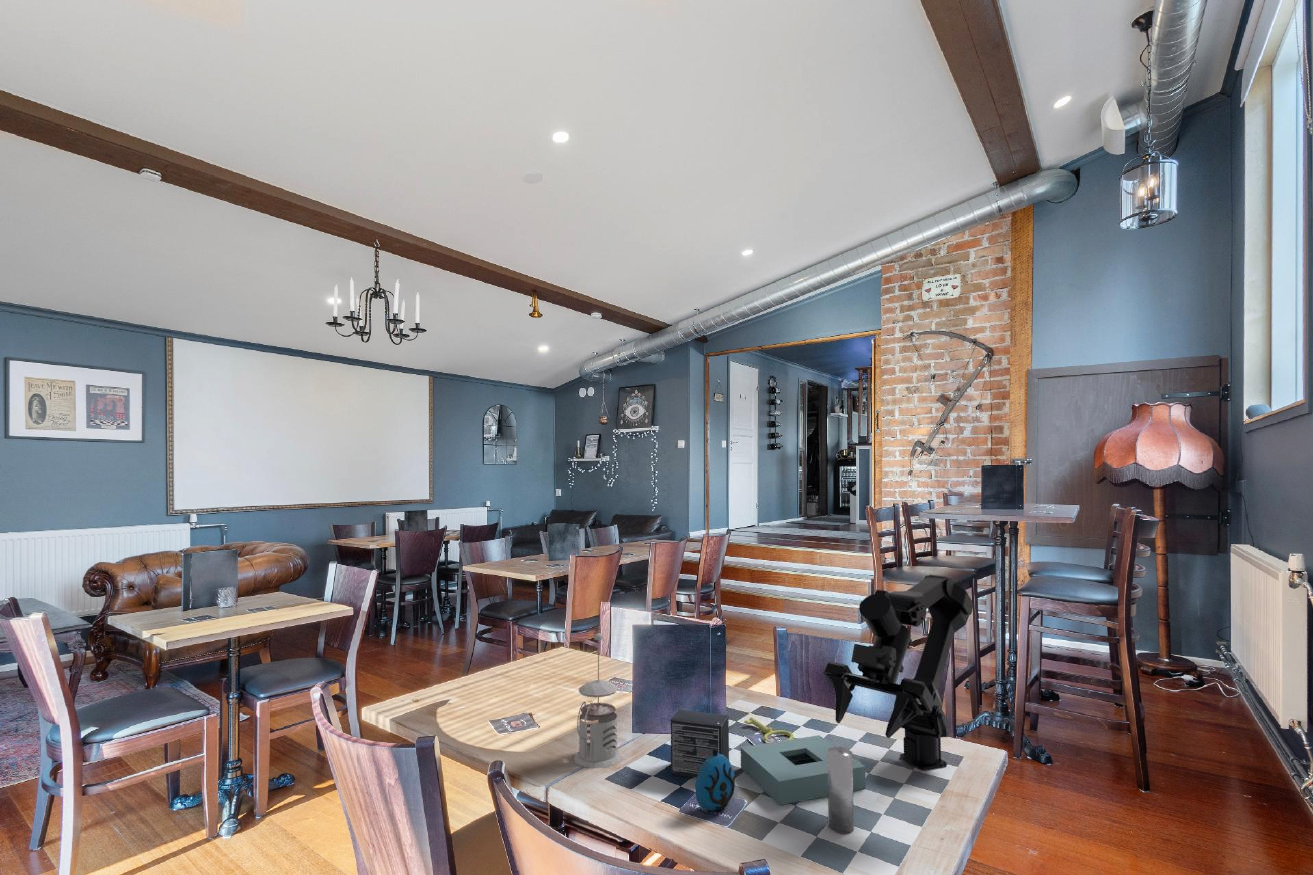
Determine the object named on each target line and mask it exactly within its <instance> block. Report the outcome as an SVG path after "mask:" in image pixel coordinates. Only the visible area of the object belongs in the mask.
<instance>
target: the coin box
mask: <svg viewBox="0 0 1313 875" xmlns="http://www.w3.org/2000/svg"><path fill="white" fill-rule="evenodd" d="M777 741H778V742H772V743H761V744H759V743H758V744H753V745H747V746H741V747H740V769H741V771H743V772H744V773H745V774H746V775H747V776H748V777H749V778H751V779H752V781H754V782H755V783H756V784H757V785H758V786H759V787H760V788H761V789H762V790H763V791H764V792H765V793H766V794H767V795H768V796H769V797H770V798H772V800H773V801H775V802H776V804H778V805H779V806H784V805H787V804H792V803H797V802H803V801H807V800H808V801H809V800H814V799H819V798H823V797H824V798H825V797H828V762H827V750H828V749H829V748H831V747H837V746H836V745H834V744H833V743H831V742H830V741H829V740H828V739H825V738H824V737H822V736H821V735H819V734H817V735H812V736H806V737H799V738H794V739H791V740H787V739H785V740H780V741H779V740H777ZM810 759H813V760H814V762H808V763H803V764H795V763H793V762H798V761H804V760H810ZM866 785H867V784H866V765H864V764H862V763H861V762H860V761H858V760H857V759H855V758H854V757H853V792H855V791H860V790H866V788H867V786H866Z"/></svg>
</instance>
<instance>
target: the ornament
mask: <svg viewBox="0 0 1313 875" xmlns="http://www.w3.org/2000/svg"><path fill="white" fill-rule="evenodd" d="M731 763H732V762H731V761H730V759H729V760H728V759H727V758H726V757H725V756H724V755H722V754H718V752H717V750H716V749H714V750H713V755H711V756H710V757H708V758H707V759H706V760H705V762H704V763H703V765H702V766H701V768H700V770H699V773H698V776H697V778H696V780H695V789H694V793H695V799H696V802H697V803H698V805H699V807H700V808H702V809H704V810H705V811H716V810H717V809H718V811H720V810H723V809H725V808H726V807H727V806H728V804H729V802H731V801H730V800H732V798H733V795H734V794H735V787H736V775H735V772H734V769H733V766H732V764H731Z"/></svg>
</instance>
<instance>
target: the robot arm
mask: <svg viewBox="0 0 1313 875" xmlns="http://www.w3.org/2000/svg"><path fill="white" fill-rule="evenodd" d="M973 605H974V604H973V601H972V599H971V596H970V595H969V593H968V591H967V590H966V589H964V588H962V587H961V586H959V585H958V584H956V583H955V582H954V580H953V579H952V577H948V576H946V575H938V574H928V575H925V577H924V579H923V580H921V581H920V582H918V583H916V584H915V585H913V586H912V587H910V588H909V589H908V590H904V591H903V590H901V591H900V590H899V591H889V592H888V591H887V590H883V589H881V590H880V589H876V590H875V592H874V593H873V594H870V595H868V596H866V597H865V598H863V600H861V601H860V603H859V606H858V608H859V609H858V610H859V612H860V615H861V617H862V618H863V620H864V622H865V624H866V626H867V627H868V629H869V630H870V632H871V634H872V635H874V636H875V638H874V641H873V644H872V645H871V644H870V645H868V646H867V645H863V644H859V643H858V644H857V643H854V645H853V650H852V655H851V659H850V661H851V663H855V664H857V669H858V671H859V672H860V673H862V675H859V674H856V673H853V672H852V670H851V669H850V667H849V665H847V664H844V663H840V662H835V661H829V662H827V663H826V664H825V666H824V668H823V671H822V673H823V675H824V676H825V678H826V679H827V681H828V682H829V684H830V686H831V687H832V688H833V689H834V696H835V721H836V723H837V724H841V722H842V720H843V719H844V717H845V714H846V713H847V711H848V708H849V706H850V703H851V701H852V699H853V697H854V694H853V693H852V691H854V690H855V688H856V687H860V688H864V689H868V690H873V691H877V692H881V693H885V694H889V695H891V696H892V695H893V696H895V700H894V703H893V709H892V712H891V715H890V718H889V721H888V722H887V725H886V730H885V733H884V734H885V737H886V738H887V739H890V738H891V737H892V736H893V735H894V734H895V733H897V732H898V731H899V730H900V729H904V737H903V753H899V757H900V759H903V760H904V761H906V762H907V763H909V764H911V765H912V766H914V767H916V768H918V769H919V770H922V771H923V770H930V769H935V768H940V767H945V766H948V762H947V761H945V760H944V759H942V749H941V748H942V745H941V742H942V741H941V739H942V738H948V735H949V734H948V733H949V729H950V726H949V722H950V721H949V718H947V716H946V714H945V712H944V710H943V707H944V706H943V703H942V700H941V697H940V694H939V692H938V691H939V687H940V685H941V681H942V677H943V674H944V672H945V671H944V670H945V667H946V664H947V661H948V657H949V653H950V650H951V647H952V644H953V641H954V640H953V639H954V636H955V633H956V632H958V631H959V630H960V629H962V628H964V627H965V626H966V624H967V622H968V621H969V620H968V619H969V617H970V616H971V615H972V613H973V609H974V608H973V607H974V606H973ZM927 610H928V611H929V614H930V617H931V619H932V621H931V625H930V628H929V630H928V631H929V632H928V633H927V637H926V640H925V643H924V647H923V650H922V654H921V656H920V659H919V662H918V665H917V668H916V672H915V674H914V677H913V678H906V677H904V678H902V679H901V681H900V683H897V681H898V678H899V674H900V673H903V672H904V670H905V667H904V666H903V662H904V658H905V656H906V652H907V650H908V647H912V646H913V640H912V635H911V633H910V631H909V629H908V628H907V627H906V626H909V627H915V628H916V627H920V625H921V624H922V623H923V622H924V620H926V618H927V617H926V616H927Z"/></svg>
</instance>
